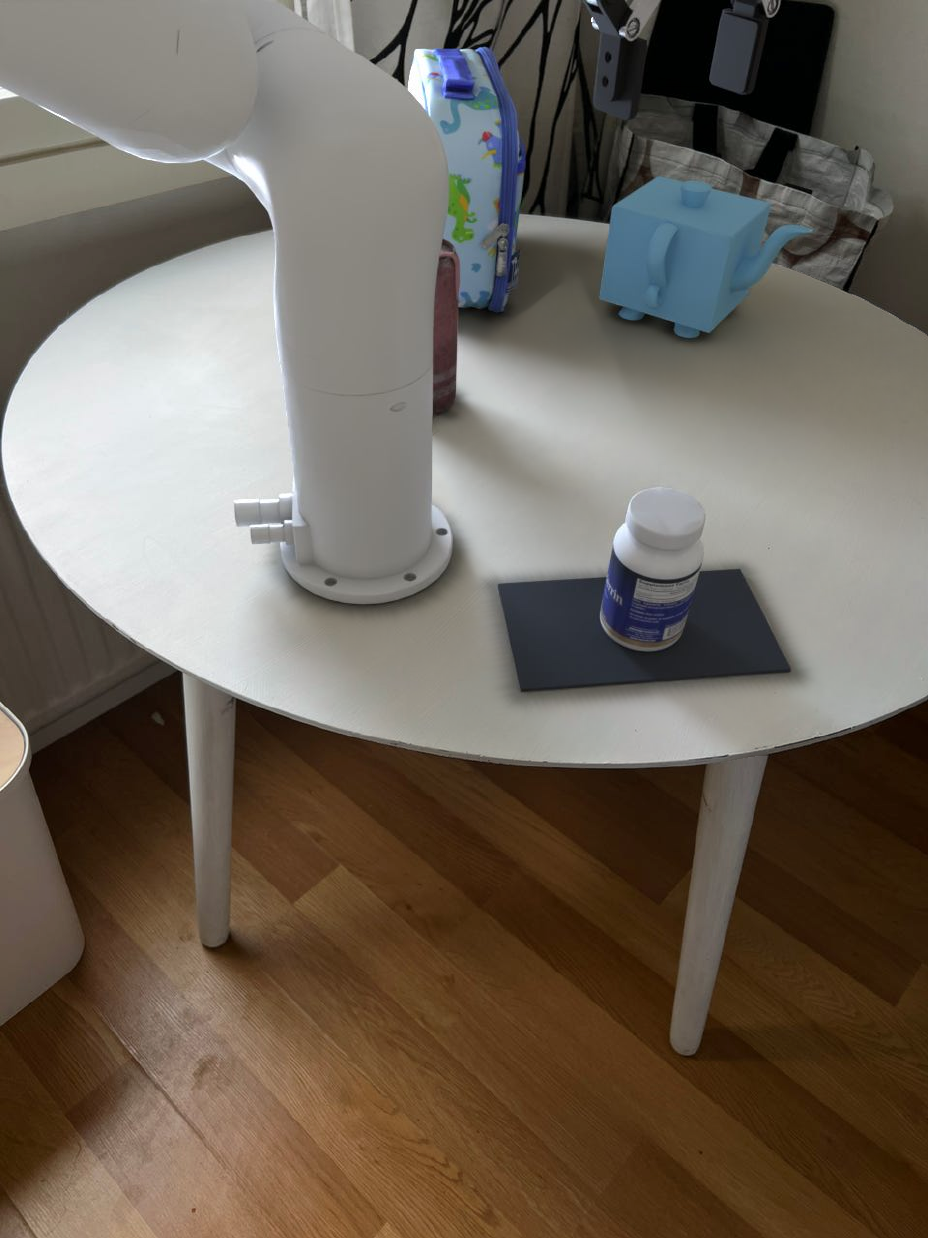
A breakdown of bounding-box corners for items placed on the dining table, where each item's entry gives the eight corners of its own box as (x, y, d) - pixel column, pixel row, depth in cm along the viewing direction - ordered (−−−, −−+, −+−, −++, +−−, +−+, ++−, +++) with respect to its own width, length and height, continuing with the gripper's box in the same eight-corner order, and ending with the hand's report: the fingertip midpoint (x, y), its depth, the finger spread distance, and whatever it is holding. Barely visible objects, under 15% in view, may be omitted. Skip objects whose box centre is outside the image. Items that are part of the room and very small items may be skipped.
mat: (521, 692, 58) (521, 689, 58) (497, 586, 65) (497, 583, 65) (790, 672, 60) (791, 668, 60) (739, 571, 67) (740, 568, 67)
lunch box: (521, 329, 93) (540, 101, 78) (415, 332, 92) (414, 100, 77) (488, 227, 111) (498, 26, 97) (399, 228, 110) (396, 25, 96)
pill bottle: (595, 594, 65) (616, 478, 58) (676, 598, 65) (707, 482, 58) (601, 653, 61) (625, 536, 54) (688, 657, 61) (722, 541, 54)
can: (450, 424, 80) (454, 267, 70) (380, 414, 81) (374, 258, 71) (464, 389, 84) (469, 236, 75) (397, 380, 85) (394, 228, 75)
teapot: (585, 322, 95) (602, 192, 86) (650, 271, 104) (671, 149, 95) (751, 376, 88) (789, 241, 79) (804, 315, 97) (843, 188, 88)
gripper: (665, -307, 38) (608, 143, 50) (920, -294, 45) (817, 95, 57) (549, -308, 42) (523, 106, 54) (799, -296, 49) (727, 66, 61)
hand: (674, 100), depth 55 cm, fingers open, 9 cm apart
